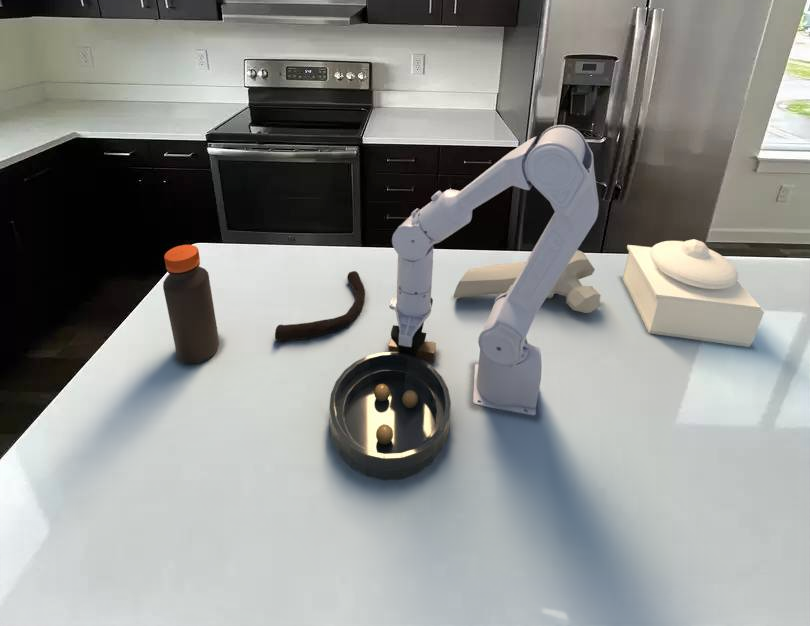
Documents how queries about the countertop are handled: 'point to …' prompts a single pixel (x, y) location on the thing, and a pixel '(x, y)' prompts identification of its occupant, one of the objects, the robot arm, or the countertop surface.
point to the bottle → (190, 305)
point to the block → (424, 352)
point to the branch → (326, 325)
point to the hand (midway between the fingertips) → (411, 347)
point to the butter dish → (690, 293)
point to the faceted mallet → (505, 274)
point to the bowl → (389, 415)
